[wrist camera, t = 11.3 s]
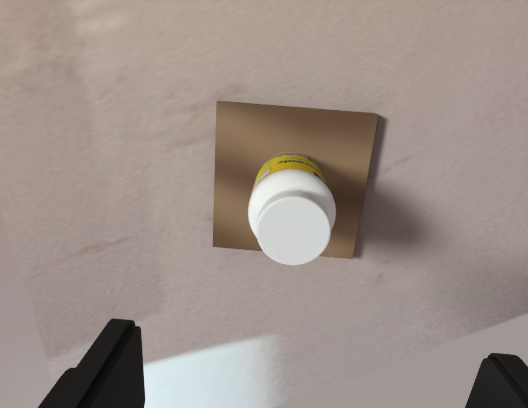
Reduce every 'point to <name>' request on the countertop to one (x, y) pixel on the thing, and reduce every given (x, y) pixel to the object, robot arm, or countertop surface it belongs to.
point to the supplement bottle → (291, 209)
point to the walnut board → (297, 141)
